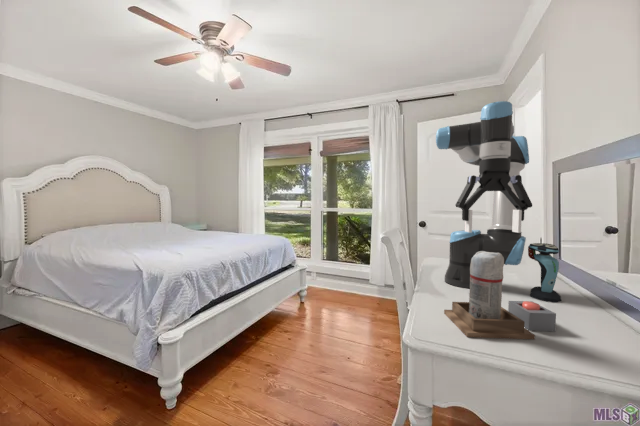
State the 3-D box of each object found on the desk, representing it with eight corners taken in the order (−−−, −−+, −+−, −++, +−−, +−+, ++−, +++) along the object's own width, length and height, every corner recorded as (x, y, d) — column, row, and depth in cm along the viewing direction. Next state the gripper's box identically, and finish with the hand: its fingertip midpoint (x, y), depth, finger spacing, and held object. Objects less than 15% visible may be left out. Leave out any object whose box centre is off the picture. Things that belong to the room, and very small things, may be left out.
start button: (518, 309, 81) (519, 301, 81) (532, 309, 81) (533, 301, 80) (528, 314, 77) (528, 306, 77) (543, 315, 77) (543, 306, 76)
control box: (508, 316, 84) (508, 300, 83) (531, 317, 83) (532, 301, 83) (528, 330, 75) (529, 312, 74) (555, 331, 74) (556, 313, 74)
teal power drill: (543, 302, 96) (546, 246, 95) (518, 291, 107) (520, 241, 106) (568, 302, 96) (571, 246, 95) (540, 291, 108) (542, 241, 107)
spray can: (507, 329, 73) (510, 255, 72) (474, 326, 74) (476, 254, 73) (494, 316, 81) (496, 250, 80) (464, 313, 83) (466, 249, 82)
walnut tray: (444, 313, 86) (444, 300, 85) (499, 315, 85) (499, 301, 84) (467, 337, 71) (467, 321, 70) (534, 339, 70) (535, 323, 70)
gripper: (455, 157, 74) (453, 233, 76) (550, 156, 73) (546, 234, 74) (444, 161, 82) (443, 230, 83) (530, 160, 80) (527, 230, 82)
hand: (492, 232), depth 79 cm, fingers open, 13 cm apart
